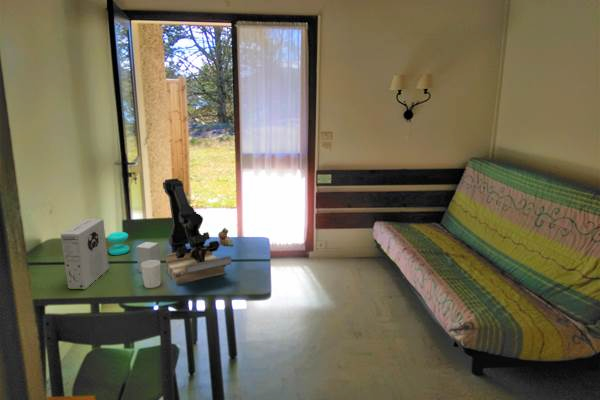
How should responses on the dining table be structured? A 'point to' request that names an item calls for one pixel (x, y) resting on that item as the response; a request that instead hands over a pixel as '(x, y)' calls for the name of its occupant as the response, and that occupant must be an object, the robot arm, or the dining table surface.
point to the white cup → (151, 273)
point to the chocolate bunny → (225, 238)
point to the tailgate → (206, 265)
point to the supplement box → (147, 253)
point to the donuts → (118, 248)
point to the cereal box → (85, 253)
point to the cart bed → (179, 264)
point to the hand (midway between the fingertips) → (203, 266)
